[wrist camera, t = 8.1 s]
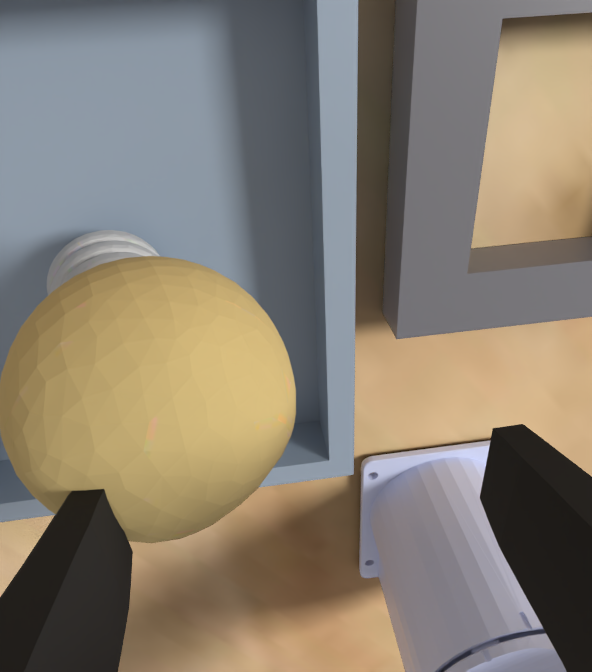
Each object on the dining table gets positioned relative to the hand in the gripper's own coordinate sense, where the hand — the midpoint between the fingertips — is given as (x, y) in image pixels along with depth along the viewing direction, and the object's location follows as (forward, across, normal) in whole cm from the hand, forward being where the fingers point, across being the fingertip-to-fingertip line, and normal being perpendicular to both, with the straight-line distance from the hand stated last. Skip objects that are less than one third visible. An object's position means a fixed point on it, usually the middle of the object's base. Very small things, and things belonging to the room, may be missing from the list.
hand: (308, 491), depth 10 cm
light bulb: (+10, +5, -1) cm, 11 cm away
